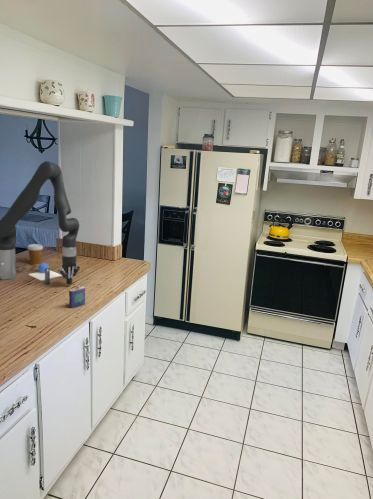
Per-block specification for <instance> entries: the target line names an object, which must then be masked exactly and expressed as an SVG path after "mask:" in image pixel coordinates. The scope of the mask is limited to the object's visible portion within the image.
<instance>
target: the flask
mask: <svg viewBox="0 0 373 499" xmlns="http://www.w3.org/2000/svg"><path fill="white" fill-rule="evenodd" d="M68 299H69V300H68V302H69V304H68V305H69V309H75V308H79V307H81V306H84V305H85V304H86V286H83V285H82V286H80V285H78V284H77V285H76V287H75V288H71V289H69V291H68Z"/></svg>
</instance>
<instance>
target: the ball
mask: <svg viewBox="0 0 373 499" xmlns="http://www.w3.org/2000/svg"><path fill="white" fill-rule="evenodd" d="M45 268H50V267H49V264H48V263H46V262H41V264H40V265H39V267H38V269H37V270H38V272H42V273H45Z"/></svg>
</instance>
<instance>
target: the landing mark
mask: <svg viewBox="0 0 373 499" xmlns="http://www.w3.org/2000/svg"><path fill="white" fill-rule="evenodd" d="M28 276H30V277H33V278H34V279H37V280H39V281H45V273H42V272H40V271H37V272H33V273H28ZM57 277H58V278H59V277H63V276H62V275H61V274H60V273H59V272H58V273H57V272H55V271H52V270H50V279H54V278H57Z"/></svg>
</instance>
